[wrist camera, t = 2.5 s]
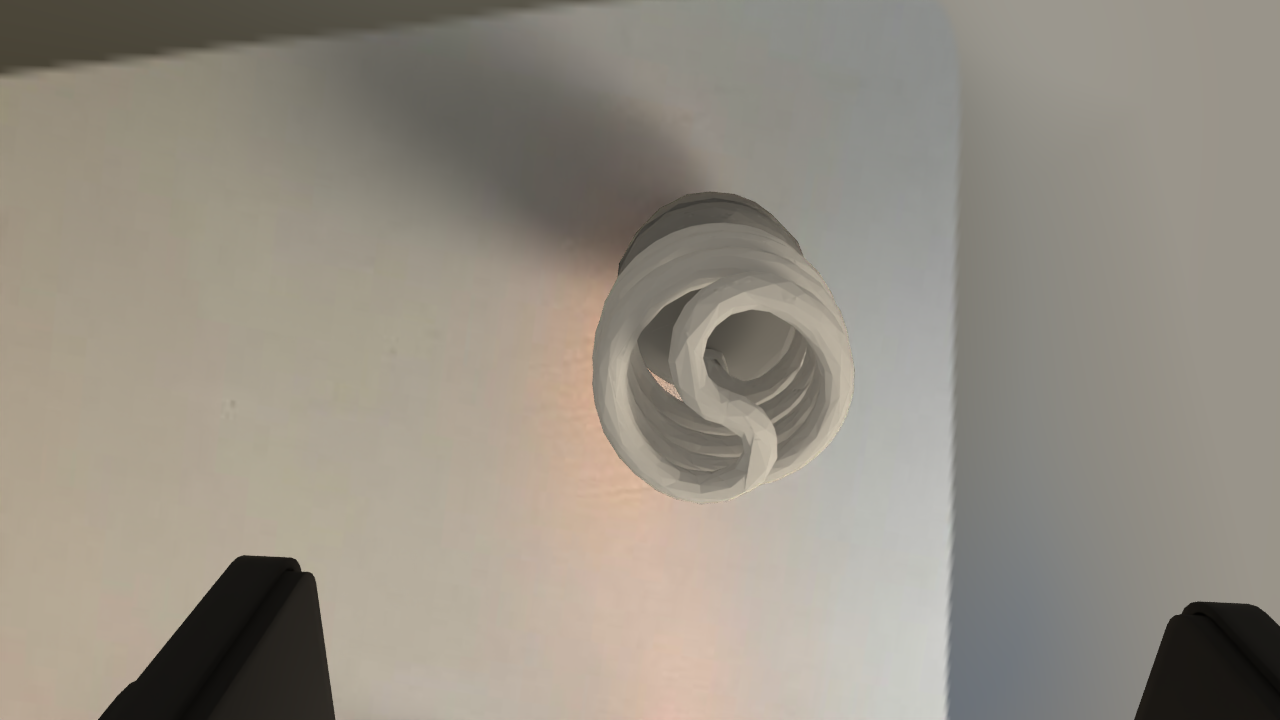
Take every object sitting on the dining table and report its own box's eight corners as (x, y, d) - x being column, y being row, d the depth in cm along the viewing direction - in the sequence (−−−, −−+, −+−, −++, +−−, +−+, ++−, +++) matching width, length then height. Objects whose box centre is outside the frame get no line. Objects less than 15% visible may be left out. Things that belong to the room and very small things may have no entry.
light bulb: (800, 325, 27) (879, 529, 16) (634, 343, 28) (602, 553, 17) (789, 154, 25) (871, 255, 14) (610, 177, 26) (555, 291, 15)
